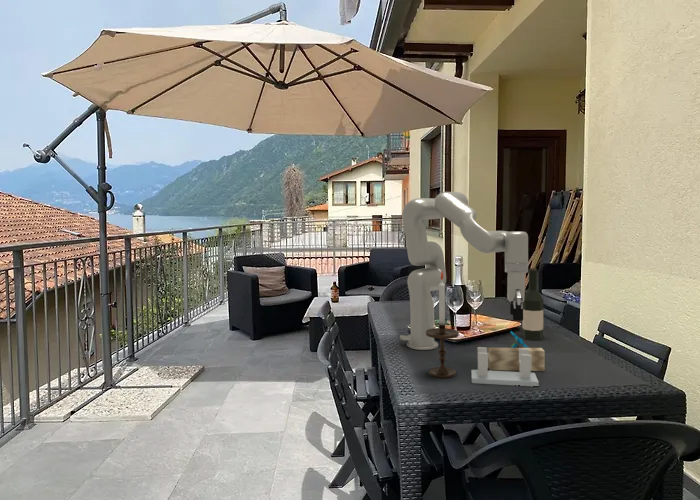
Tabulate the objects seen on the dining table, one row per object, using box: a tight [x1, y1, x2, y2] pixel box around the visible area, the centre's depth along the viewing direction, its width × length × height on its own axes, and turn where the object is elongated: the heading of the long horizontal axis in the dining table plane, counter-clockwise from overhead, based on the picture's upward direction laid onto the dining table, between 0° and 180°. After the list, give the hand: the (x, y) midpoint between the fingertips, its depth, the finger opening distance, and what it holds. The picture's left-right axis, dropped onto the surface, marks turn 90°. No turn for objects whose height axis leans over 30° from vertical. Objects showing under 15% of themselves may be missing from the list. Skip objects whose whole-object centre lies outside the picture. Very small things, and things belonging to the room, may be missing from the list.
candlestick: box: [426, 271, 460, 379], centre depth 165 cm, size 11×11×35 cm
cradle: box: [470, 346, 540, 387], centre depth 158 cm, size 20×9×10 cm, turn 77°
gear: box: [509, 330, 530, 348], centre depth 193 cm, size 11×6×10 cm
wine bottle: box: [521, 267, 544, 341], centre depth 209 cm, size 8×8×30 cm
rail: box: [487, 347, 546, 372], centre depth 170 cm, size 18×4×7 cm, turn 84°
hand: (516, 317), depth 169 cm, fingers open, 9 cm apart
